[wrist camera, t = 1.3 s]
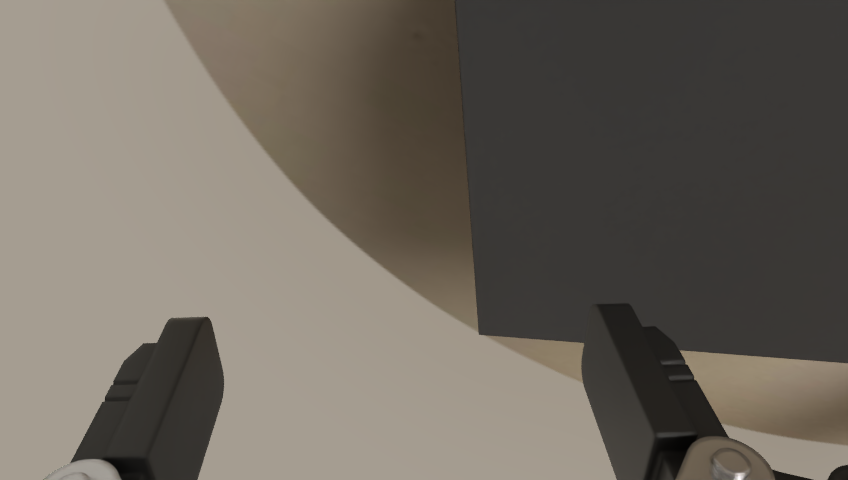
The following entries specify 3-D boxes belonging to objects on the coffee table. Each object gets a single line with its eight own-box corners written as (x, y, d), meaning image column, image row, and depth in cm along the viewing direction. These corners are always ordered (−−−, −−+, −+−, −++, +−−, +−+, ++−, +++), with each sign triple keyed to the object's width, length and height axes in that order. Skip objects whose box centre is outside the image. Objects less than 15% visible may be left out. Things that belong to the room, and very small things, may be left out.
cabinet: (995, -176, 18) (1228, -46, 12) (833, 184, 28) (912, 368, 21) (493, -141, 21) (453, -21, 15) (500, 175, 31) (478, 335, 24)
